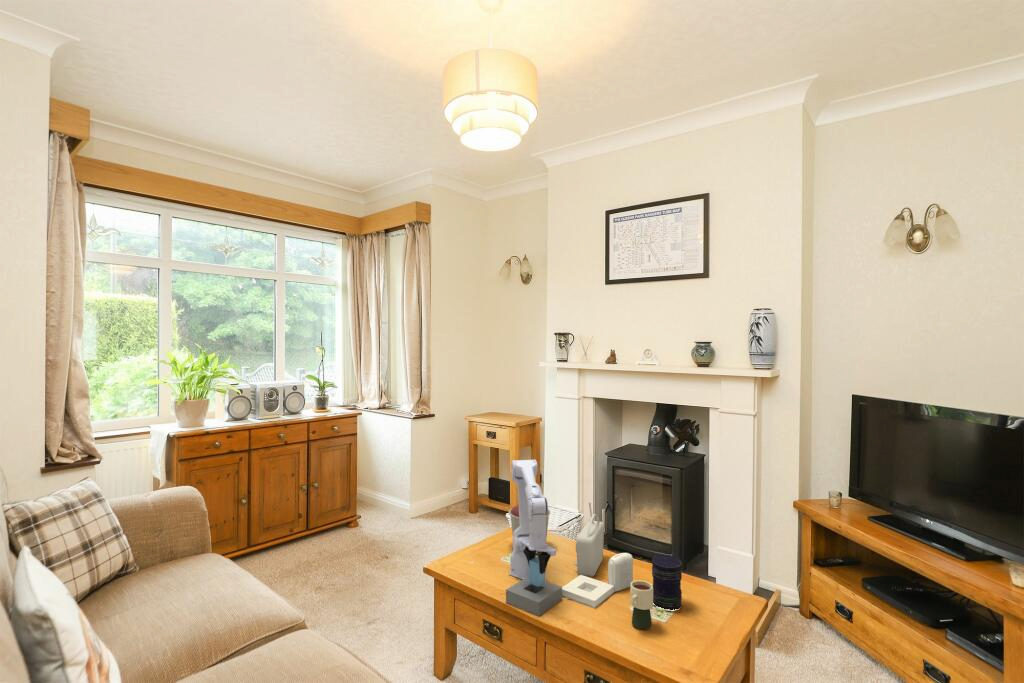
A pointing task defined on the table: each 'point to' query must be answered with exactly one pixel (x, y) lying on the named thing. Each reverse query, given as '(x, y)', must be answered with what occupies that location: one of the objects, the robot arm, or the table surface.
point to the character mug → (641, 603)
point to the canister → (515, 519)
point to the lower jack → (587, 591)
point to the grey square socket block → (533, 596)
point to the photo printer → (620, 571)
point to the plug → (535, 573)
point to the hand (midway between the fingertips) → (537, 571)
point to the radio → (590, 546)
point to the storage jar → (667, 582)
